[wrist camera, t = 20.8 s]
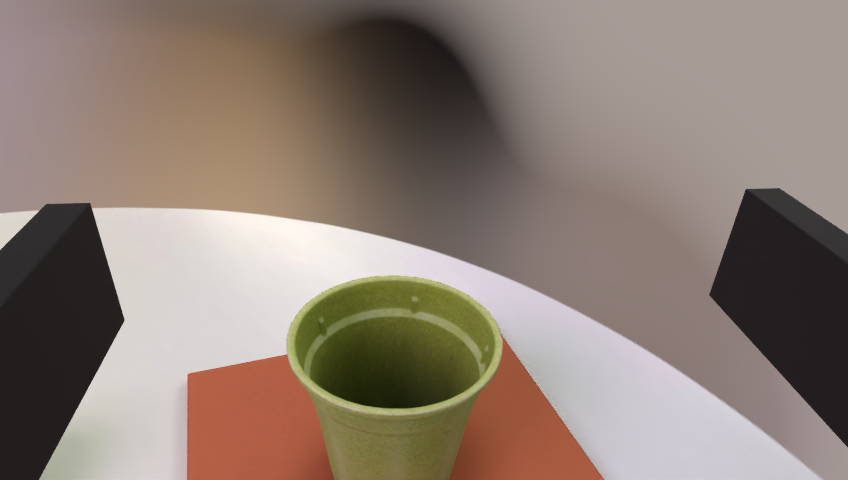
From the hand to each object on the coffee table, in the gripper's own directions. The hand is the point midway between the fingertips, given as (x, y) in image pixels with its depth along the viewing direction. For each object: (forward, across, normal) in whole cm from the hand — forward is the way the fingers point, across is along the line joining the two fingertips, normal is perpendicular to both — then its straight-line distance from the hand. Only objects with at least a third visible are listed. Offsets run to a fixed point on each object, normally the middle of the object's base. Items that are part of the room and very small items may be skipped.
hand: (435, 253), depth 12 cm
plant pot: (+10, 0, -19) cm, 21 cm away
